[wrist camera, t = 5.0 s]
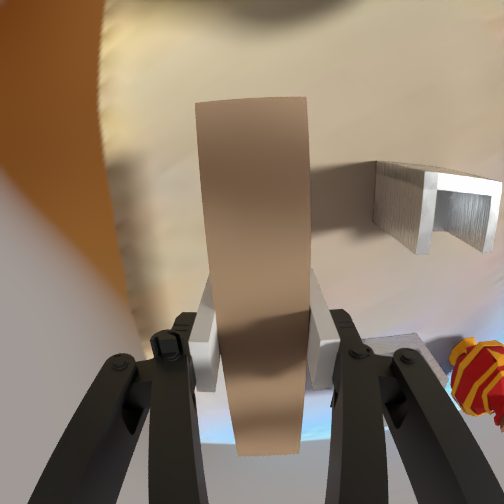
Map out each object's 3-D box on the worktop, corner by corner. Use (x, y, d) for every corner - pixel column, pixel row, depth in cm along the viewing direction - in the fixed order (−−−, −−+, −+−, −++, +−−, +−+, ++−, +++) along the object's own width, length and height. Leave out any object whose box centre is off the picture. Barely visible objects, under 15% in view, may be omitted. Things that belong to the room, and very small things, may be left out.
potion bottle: (421, 372, 35) (465, 451, 21) (465, 313, 32) (529, 383, 18) (459, 382, 37) (499, 447, 23) (497, 331, 34) (550, 390, 20)
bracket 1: (440, 223, 28) (491, 252, 20) (372, 221, 28) (415, 254, 20) (445, 168, 26) (502, 182, 17) (376, 160, 26) (424, 171, 18)
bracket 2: (355, 339, 33) (379, 393, 25) (416, 333, 33) (448, 379, 24) (347, 376, 35) (365, 430, 27) (404, 368, 35) (430, 415, 26)
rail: (213, 115, 15) (194, 103, 10) (290, 111, 14) (306, 96, 10) (240, 404, 21) (238, 456, 17) (292, 402, 21) (298, 453, 17)
